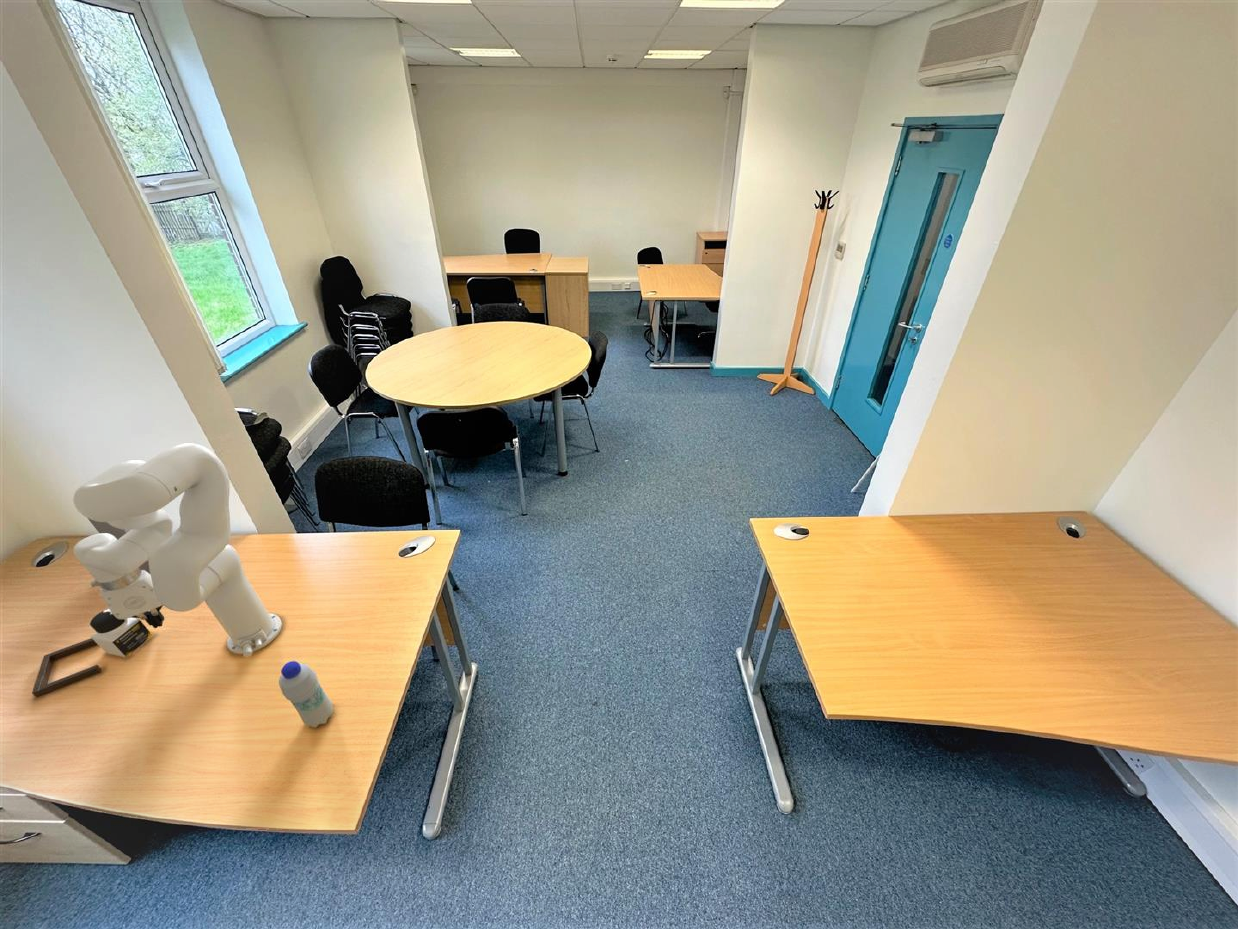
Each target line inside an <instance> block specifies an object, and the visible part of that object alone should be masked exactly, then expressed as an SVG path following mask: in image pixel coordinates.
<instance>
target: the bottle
mask: <svg viewBox="0 0 1238 929" xmlns="http://www.w3.org/2000/svg"><path fill="white" fill-rule="evenodd" d="M280 672H281V675H280V676H279V679H278V685H279V688H280V690H281V694H282V695H283V697H284V698H285V699H286V700H288V701H290V703H291V704H292V706H293V707H294V708H295V710H296V712H297V713H298V715H299V717H300V719H301V721H302V723H304V725H306V726H309V727H311V728H318V727H319V725H325V724H327V722H328V719H329V718H331V717H333V714H334V708H333V707H334V704H333V702H332V700H331V699H330V698H329V696H328V695H327V694H326V693H325V691H324V689H323V687H322V686H321V684H320V683H319V678H318V675H317V673H316V672H315V671H314V670H313V669H312V668H311V667H310V666H309V665H308V664H306V663H299V661H296V660H291V661H288V662H286V663H285V664H283V666H282V668H281V670H280Z"/></svg>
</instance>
